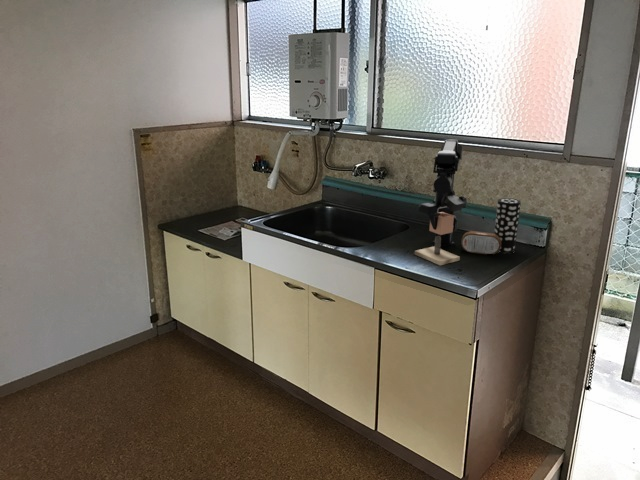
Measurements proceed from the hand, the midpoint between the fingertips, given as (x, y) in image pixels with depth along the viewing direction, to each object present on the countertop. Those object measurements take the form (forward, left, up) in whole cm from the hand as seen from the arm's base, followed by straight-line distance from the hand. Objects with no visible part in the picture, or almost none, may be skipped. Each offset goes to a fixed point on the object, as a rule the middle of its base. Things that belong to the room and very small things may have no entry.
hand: (441, 228), depth 194 cm
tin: (-18, +4, -12) cm, 22 cm away
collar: (0, 0, -1) cm, 1 cm away
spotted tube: (-28, +7, -12) cm, 31 cm away
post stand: (0, -1, -12) cm, 12 cm away
